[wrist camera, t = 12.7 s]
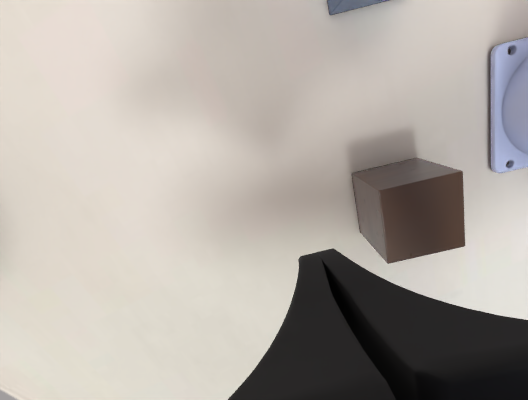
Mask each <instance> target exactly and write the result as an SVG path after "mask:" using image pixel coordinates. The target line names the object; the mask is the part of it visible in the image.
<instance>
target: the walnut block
mask: <svg viewBox="0 0 528 400" xmlns="http://www.w3.org/2000/svg"><path fill="white" fill-rule="evenodd" d="M352 179H353V186H354V193H355V199H356V206H357V213H358V220H359V227H360V233H361V234H362V235H363V236H364V237H365V238H366V239H367V241H368V242H369V243H370V244H371V245H372V246H373V247H374V249H375V250H376V251H377V252H378V253H379V254H380V255H381V256H382V258H383V259H384V260H385V261H386V262H387V263H388V264H389V263H393V262H397V261H402V260H406V259H411V258H415V257H420V256H424V255H428V254H433V253H437V252H442V251H446V250H450V249H455V248H459V247H464V246H465V228H464V196H463V171H460V170H457V169H453V168H450V167H447V166H443V165H440V164H436V163H433V162H430V161H426V160H423V159H419V158H414V159H410V160H406V161H401V162H397V163H393V164H389V165H384V166H380V167H376V168H372V169H368V170H363V171H359V172H355V173H352Z"/></svg>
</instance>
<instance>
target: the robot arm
mask: <svg viewBox="0 0 528 400" xmlns="http://www.w3.org/2000/svg"><path fill="white" fill-rule="evenodd" d="M509 47H510V49H511V52H510V54H508V48H509ZM508 161H509V164H508V165H507V166H506V163H507V162H508ZM525 167H528V37H527V38H523V39H519V40H515V41H511V42H506V43H502V44H499V45H497V46H495V47H494V48H493V50H492V51H491V169H492V171H494V172H497V173H504V172H508V171H512V170H517V169H521V168H525ZM228 400H528V320H523V319H517V318H511V317H505V316H499V315H494V314H489V313H485V312H481V311H476V310H472V309H467V308H463V307H460V306H456V305H452V304H449V303H445V302H442V301H439V300H436V299H432V298H429V297H426V296H423V295H420V294H418V293H415V292H412V291H410V290H407V289H405V288H402V287H400V286H398V285H395V284H393V283H391V282H389V281H387V280H385V279H383V278H381V277H379V276H377V275H375V274H373V273H371V272H369V271H368V270H366V269H364V268H363V267H361V266H359V265H358V264H356V263H354V262H353V261H351V260H350V259H348V258H347V257H345V256H344V255H342V254H341V253H339V252H338V251H336V250H335V249H329V250H325V251H320V252H316V253H312V254H308V255H304V256H301V257H300V258H299V272H298V279H297V283H296V288H295V292H294V295H293V298H292V301H291V305H290V307H289V310H288V313H287V315H286V317H285V319H284V322H283V324H282V326H281V328H280V330H279V332H278V334H277V335H276V337H275V339H274V341H273V343H272V344H271V346H270V348H269V349H268V351H267V352H266V353H265V355H264V356H263V358H262V359H261V361H260V362H259V364H258V365H257V366H256V368H255V369H254V371H253V372H252V373H251V374H250V375H249V377H248V378H247V379H246V380H245V381H244V382H243V383H242V385H241V386H240V387H239V388H238V389H237V390H236V391H235V393H234V394H233V395H232V396H231V397H230V398H229V399H228Z"/></svg>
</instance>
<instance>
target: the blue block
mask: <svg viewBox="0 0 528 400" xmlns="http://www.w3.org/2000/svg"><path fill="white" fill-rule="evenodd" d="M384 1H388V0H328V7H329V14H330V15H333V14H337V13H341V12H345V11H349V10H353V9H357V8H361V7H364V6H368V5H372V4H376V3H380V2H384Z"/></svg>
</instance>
